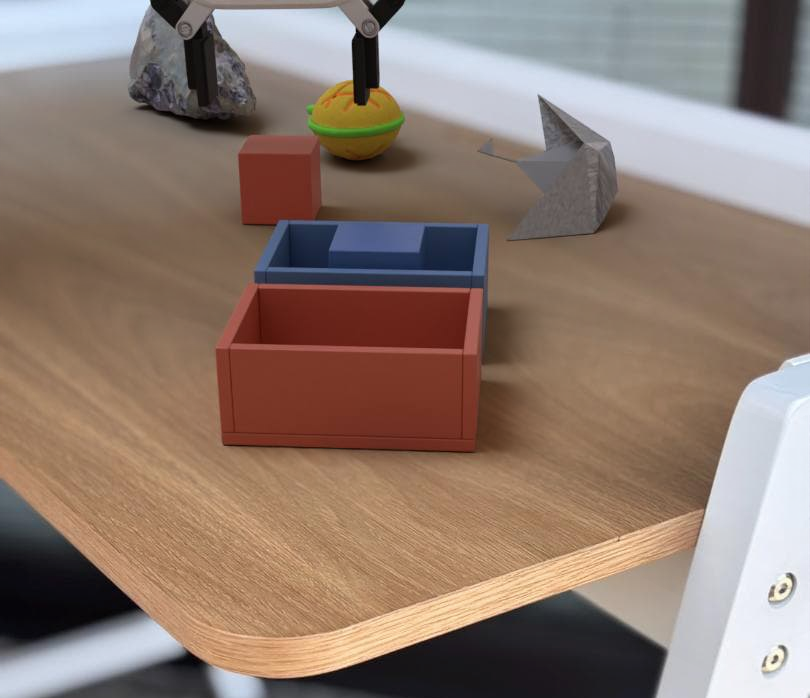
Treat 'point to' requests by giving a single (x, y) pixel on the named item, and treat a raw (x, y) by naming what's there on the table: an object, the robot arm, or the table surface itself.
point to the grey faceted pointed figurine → (566, 177)
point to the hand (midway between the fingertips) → (285, 101)
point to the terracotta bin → (352, 367)
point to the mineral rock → (185, 73)
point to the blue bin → (444, 268)
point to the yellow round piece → (355, 122)
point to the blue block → (378, 246)
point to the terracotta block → (279, 178)
